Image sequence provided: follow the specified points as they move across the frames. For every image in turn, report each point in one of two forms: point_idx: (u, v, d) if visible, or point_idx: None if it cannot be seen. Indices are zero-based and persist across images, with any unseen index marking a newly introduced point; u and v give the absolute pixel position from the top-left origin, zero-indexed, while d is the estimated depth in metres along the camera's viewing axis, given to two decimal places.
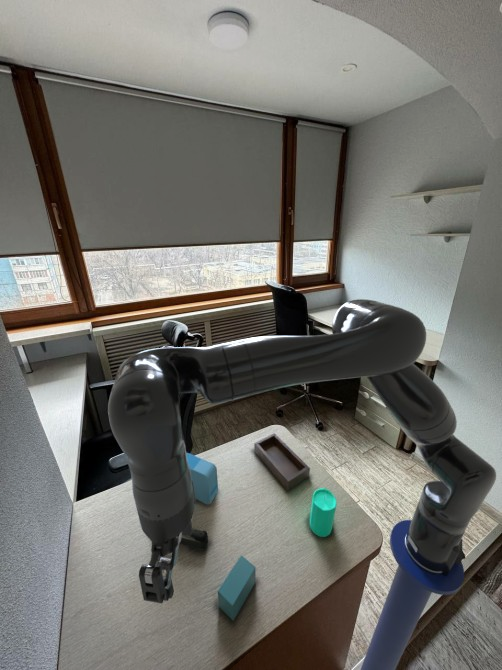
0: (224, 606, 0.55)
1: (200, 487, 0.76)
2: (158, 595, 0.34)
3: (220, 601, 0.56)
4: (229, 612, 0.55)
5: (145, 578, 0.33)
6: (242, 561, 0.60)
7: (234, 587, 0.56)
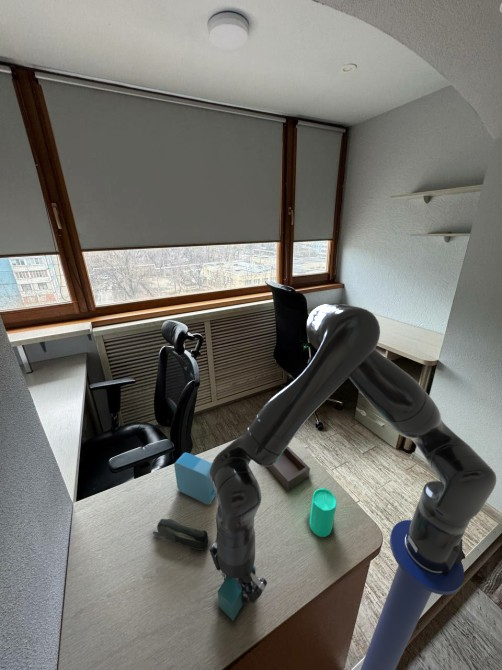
0: (224, 606, 0.55)
1: (200, 487, 0.76)
2: None
3: (220, 601, 0.56)
4: (229, 612, 0.55)
5: (261, 592, 0.52)
6: None
7: (234, 587, 0.56)
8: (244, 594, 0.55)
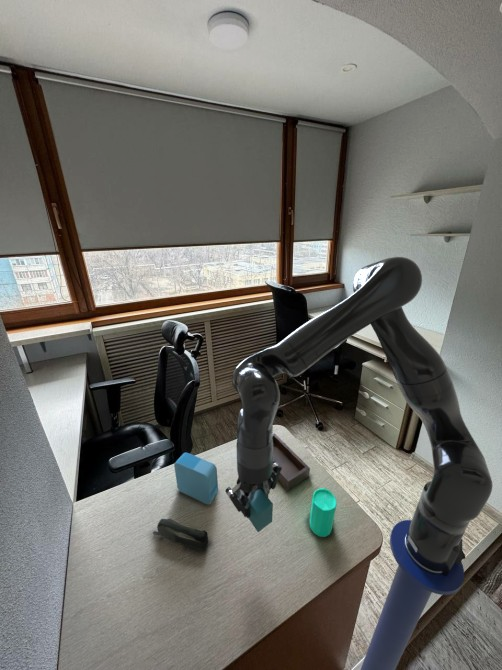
0: (264, 519, 0.58)
1: (200, 487, 0.76)
2: None
3: (260, 522, 0.58)
4: (269, 518, 0.59)
5: None
6: None
7: (260, 498, 0.59)
8: (268, 491, 0.61)
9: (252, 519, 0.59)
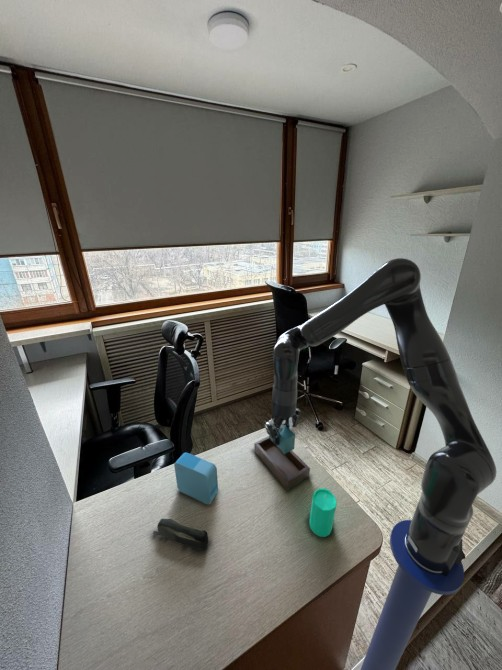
0: (289, 445, 0.84)
1: (200, 487, 0.76)
2: None
3: (286, 446, 0.84)
4: (292, 445, 0.85)
5: None
6: None
7: (286, 431, 0.85)
8: (291, 428, 0.87)
9: (280, 445, 0.85)
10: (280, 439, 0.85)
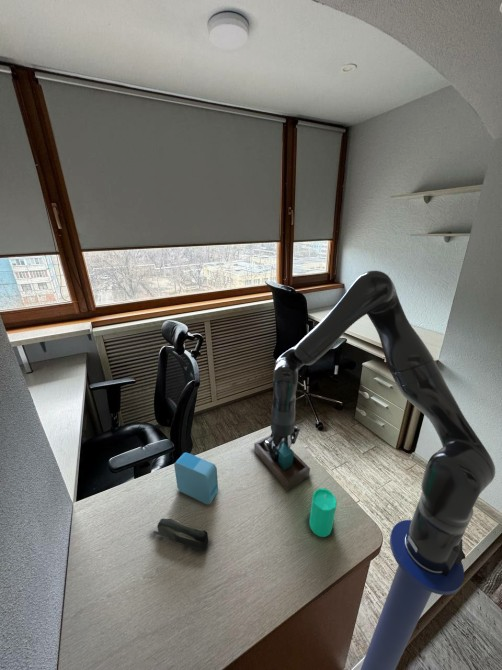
0: (288, 462, 0.87)
1: (200, 487, 0.76)
2: None
3: (285, 463, 0.86)
4: (290, 462, 0.88)
5: None
6: None
7: (285, 448, 0.88)
8: (290, 445, 0.89)
9: (279, 462, 0.88)
10: (279, 456, 0.87)
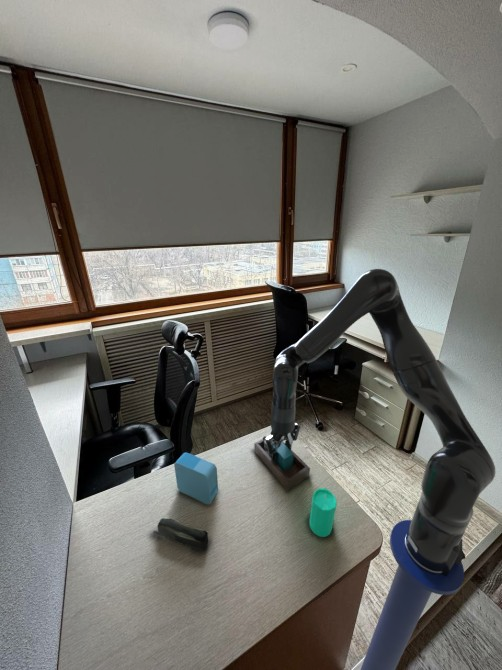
0: (287, 464, 0.87)
1: (200, 487, 0.76)
2: None
3: (285, 465, 0.86)
4: (290, 463, 0.88)
5: None
6: None
7: (285, 450, 0.88)
8: (292, 441, 0.89)
9: (279, 464, 0.88)
10: (279, 458, 0.87)
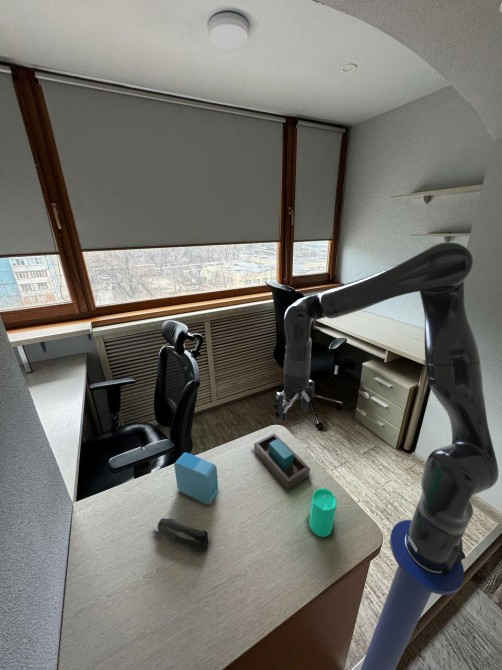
0: (287, 464, 0.87)
1: (200, 487, 0.76)
2: None
3: (285, 465, 0.86)
4: (290, 463, 0.88)
5: None
6: (272, 443, 0.91)
7: (285, 450, 0.88)
8: (308, 398, 0.82)
9: (279, 464, 0.88)
10: (279, 458, 0.87)
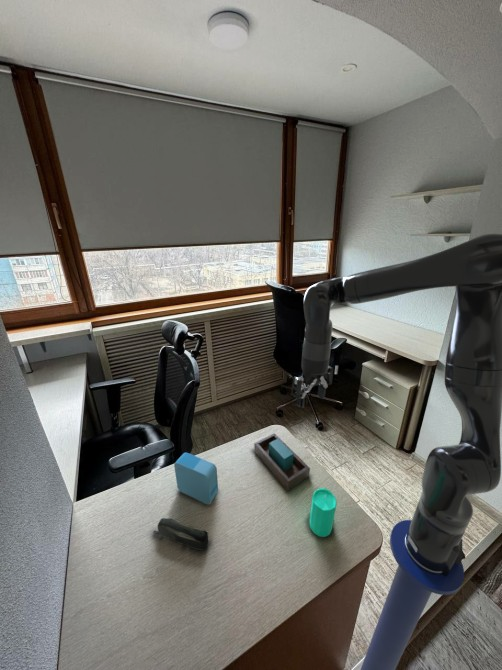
0: (287, 464, 0.87)
1: (200, 487, 0.76)
2: None
3: (285, 465, 0.86)
4: (290, 463, 0.88)
5: None
6: (272, 443, 0.91)
7: (285, 450, 0.88)
8: (326, 385, 0.80)
9: (279, 464, 0.88)
10: (279, 458, 0.87)
